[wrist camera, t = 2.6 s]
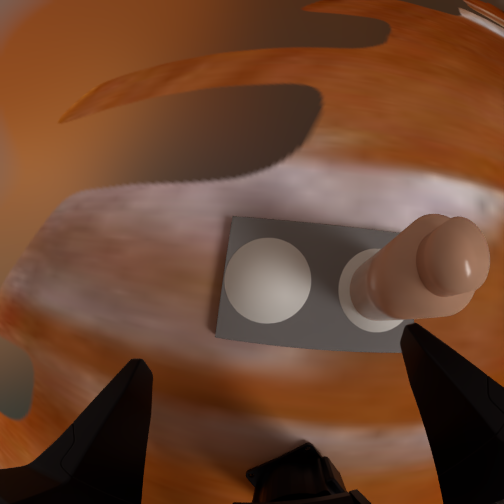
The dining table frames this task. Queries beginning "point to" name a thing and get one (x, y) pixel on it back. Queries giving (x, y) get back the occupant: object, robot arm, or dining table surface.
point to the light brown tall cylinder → (423, 271)
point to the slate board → (300, 287)
